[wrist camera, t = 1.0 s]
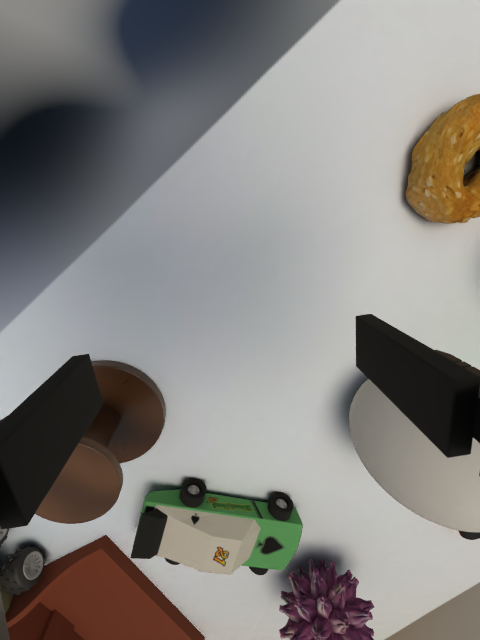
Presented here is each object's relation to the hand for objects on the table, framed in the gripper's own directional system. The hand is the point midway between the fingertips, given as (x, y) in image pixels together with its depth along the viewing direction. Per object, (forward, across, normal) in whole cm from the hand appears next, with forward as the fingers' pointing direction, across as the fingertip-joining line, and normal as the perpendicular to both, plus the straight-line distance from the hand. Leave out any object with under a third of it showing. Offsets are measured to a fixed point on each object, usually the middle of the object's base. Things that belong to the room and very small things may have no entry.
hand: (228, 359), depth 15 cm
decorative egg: (+16, +17, -16) cm, 28 cm away
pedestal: (+16, -14, -11) cm, 24 cm away
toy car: (+16, -4, -29) cm, 33 cm away
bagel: (+16, +23, +9) cm, 30 cm away
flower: (+16, +7, -41) cm, 45 cm away
